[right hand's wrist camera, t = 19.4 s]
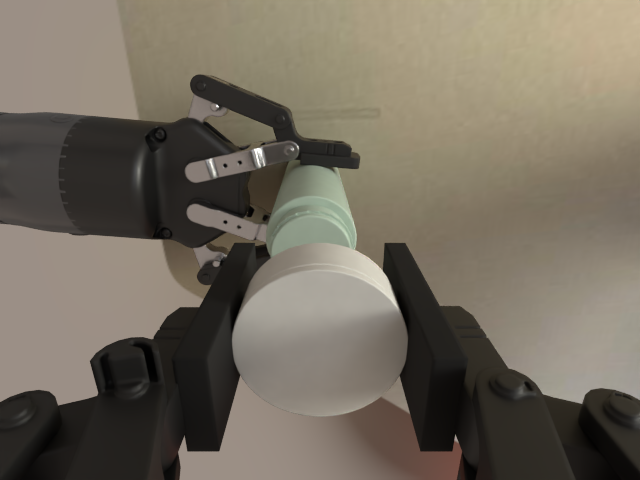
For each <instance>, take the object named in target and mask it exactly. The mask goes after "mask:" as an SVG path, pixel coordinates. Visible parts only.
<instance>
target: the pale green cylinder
mask: <svg viewBox="0 0 640 480" xmlns="http://www.w3.org/2000/svg"><path fill="white" fill-rule="evenodd" d="M356 240H357V235H356V229H355V225H354V221H353V218H352V215H351V211H350V208H349V204H348V201H347V198H346V194H345V191H344V188H343V184H342V181H341V177H340V174H339V171H338V168H336V167H324V166H315V165H301V164H300V160H292V161H289V163H288V165H287V168H286V171H285V174H284V177H283V180H282V183H281V186H280V189H279V192H278V195H277V198H276V201H275V204H274V207H273V211H272V214H271V217H270V220H269V223H268V226H267V230H266V245H267V249H268V252H269V254H270V257H271V258H272V257H274V256H275V255H276V254H278V253H280V252H282V251H284V250H286V249H289V248H292V247H295V246H299V245H303V244H310V243H330V244H337V245H341V246H345V247H348V248H351V249H353V250H355V247H356Z"/></svg>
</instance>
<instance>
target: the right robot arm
mask: <svg viewBox="0 0 640 480" xmlns="http://www.w3.org/2000/svg"><path fill="white" fill-rule="evenodd" d="M256 272H257V266H256V251H255V243H234V245H233V247H232V249H231V251H230V252H229V254H228V256H227V258H226V260H225V261H224V263H223V265H222V267H221V269H220V271H219V272H218V274H217V276H216V278H215V280H214V282H213V283H212V285H211V287H210V289H209V291H208V293H207V294H206V296H205V298H204V300H203V302H202V304H201V305H200V307H180V308H179V309H177V310H176V311H175V312H173V313H172V314H170V315H169V316H168V317H167V318H166V319H165V321H164V322H163V324H162V325H161V327H160V330H158V331H157V333H156V334H155V336H154V339H148V338H144V337H135V338H128V339H123V340H119V341H117V342H114V343H112V344H110V345H107V346H106V347H104V348H103V349H101V350H100V351H99V352H97V353H96V354H95V355H94V357H93V358H92V359H91V360H90V363H91V367H92V371H93V375H94V378H95V382H96V386H97V389H98V395H97V396H95V397H92V398H89V399H85V400H81V401H76V402H72V403H67V404H63V405H59V406H58V404H57V401H56V398H55V396H54V395H53V394H51V393H50V392H48V391H42V390H35V391H27V392H23V393H20V394H17V395H14V396H12V397H9V398H7V399H5V400H4V401H2V402H0V480H179V478H180V461H179V455H178V451H179V448H180V445H181V443H182V440H183V438H184V435H185V440H186V445H187V451H219V450H220V446H221V443H222V439H223V435H224V432H225V428H226V425H227V421H228V418H229V414H230V410H231V407H232V403H233V399H234V396H235V392H236V388H237V385H238V381H239V378H240V373H239V372H238V370H237V367H236V365H235V362H234V357H233V347H232V331H233V327H234V323H235V320H236V318H237V315H238V312H239V309H240V307H241V304H242V301H243V298H244V296H245V293H246V290H247V288H248V285H249V283H250V281H251V280H252V278H253V276H254V275H255V273H256ZM383 272H384V274H385V275H386V276H387V278H388V280H389V281H390V283H391V285H392V288H393V291H394V293H395V296H396V299H397V302H398V305H399V307H400V310H401V313H402V316H403V318H404V321H405V324H406V327H407V332H408V345H407V355H406V361H405V365H404V367H403V369H402V371H401V374H400V379H401V382H402V386H403V389H404V393H405V397H406V400H407V404H408V407H409V411H410V415H411V418H412V422H413V426H414V429H415V433H416V436H417V440H418V443H419V447H420V451H452V450H453V444H454V438H455V434H456V437H457V439H458V442H459V444H460V447H461V449H462V455H461V460H460V466H459V471H458V477H457V480H640V400H638V399H636V398H634V397H632V396H631V395H628V394H625V393H622V392H619V391H616V390H610V389H603V388H600V389H594V390H590V391H589V392H588V393H587V394H586V395H585V397H584V400H583V403H582V404H580V403H575V402H571V401H566V400H562V399H558V398H553V397H550V396H546V395H543V394H542V392H541V391H540V389H539V388H538V386H537V385H536V383H534V382H533V381H532V380H531V379H529V378H528V377H527V376H525V375H523V374H521V373H519V372H517V371H515V370H512V369H508V367H507V366H506V364H505V363H504V361H503V360H502V358H501V357H500V355H499V354H498V352H497V351H496V349H495V348H494V346H493V345H492V343H491V342H490V340H489V339H488V338H486V334H485V333H484V331H483V330H482V329H480V325H479V324H478V323H477V321H476V320H475V318H474V317H473V315H471V314H470V313H469V312H467V311H466V310H464V309H463V308H462V307H460V306H439V304H438V302H437V300H436V298H435V297H434V295H433V293H432V291H431V289H430V287H429V286H428V284H427V282H426V280H425V278H424V277H423V275H422V273H421V271H420V269H419V267H418V266H417V264H416V262H415V260H414V258H413V256H412V255H411V253H410V251H409V249H408V247H407V246H406V244H405V243H385V247H384V262H383Z"/></svg>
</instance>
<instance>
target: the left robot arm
mask: <svg viewBox="0 0 640 480" xmlns="http://www.w3.org/2000/svg"><path fill="white" fill-rule="evenodd" d="M190 87H191V90H192V92H193V93H194V96H193V100H192V103H191V107H190V111H189V115H188V117H187V118H182V119H180V120H178V121H176V122H174V123H163V122H152V121H141V120H130V119H118V118H108V117H96V116H84V115H73V114H63V113H47V112H44V113H21V114H20V113H3V112H0V224H11V225H19V226H24V227H29V228H34V229H38V230H44V231H51V232H63V233H69V234H72V235H102V236H115V237H129V238H141V239H171V240H175V241H177V242H180V243H181V244H183V245H185V246H187V247H190V248H193V250H194V253H195V255H196V258H197V261H198V263H199V266H200V271H199V272H198V274H197V278H198V281H199V282H200V283H202V284H204V285H211V284H212V283H213V282H214V280H215V278H216V276H217V274H218V272H219V271H220V269H221V267H222V265H223V263H224V261H225V260H226V258H227V256H228V254H229V251H228V249H227V248H225V247H216V246H213V245H212V244H211V243H210V242H211V241H213V240H214V239H216V238H218V237H219V236H221V235H223V234H224V233H226V232H228V233H231V234H234V235H237V236H240V237H242V238H245V239H248V240H260V241H263V242H266V230H267V226H268V223H269V220H270V217H271V213H268V212H267V211H266V210H265V209H263V208H261V207H258V206H256V205H253V204H250V195H249V191H248V187H247V184H248V181H249V178H250V174H251V170H256V169H260V168H262V167H265V166H268V165H273V164H278V163H283V162H287V161H292V160H300V164H301V165H315V166H324V167H336V168H348V169H358V168H359V163H360V156H359V155H358V154H357V153H353V152H351V150H352V148H351V146H350V145H349V144H347V143H345V142H343V141H333V140H322V139H310V138H304V137H302V136H300V135H299V134H298V133H297V131H296V128H295V125H294V121H293V118H292V112H291V111H290V109H289V108H287V107H285V106H283V105H280V104H278V103H276V102H273V101H271V100H268V99H266V98H264V97H261V96H259V95H257V94H254V93H252V92H250V91H247V90H245V89H243V88H240V87H238V86H235V85H233V84H231V83H228V82H226V81H224V80H221V79H219V78H217V77H214V76H209V75H196V76H194V77H193V78H192V80H191V83H190ZM229 110H232V111H234V112H237V113H239V114H242V115H244V116H246V117H249V118H251V119H254V120H256V121H259V122H261V123H263V124H266V125H268V126H271V127H273V129H274V133H275V136H276V139H273V140H269V141H261V142H256V143H251V144H246V145H242V146H235V145H234V144H233V143H232V142H231V141H229V140H228V139H227V138H226V137H224V136H223V135H222V134H221V133H220V132H218V131H217V130H216V129H215V128H214V127H212V126H211V125H210V124H209V123H207V122H206V121H207V119H208V118H209V117H210V116H215V117H221V116H224V115H226V114H227V113H228V112H229ZM247 212H248V213H247ZM239 225H240V226H239ZM255 251H256V266H257V271H258V270H259V268H260V267H261V266H262V265H263V264H265V263H266V262H267V261H268V260H269V259H271V257H270V254H269V252H268V249H267V245H266V244H264V245H259V246H255Z"/></svg>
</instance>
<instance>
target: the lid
mask: <svg viewBox="0 0 640 480" xmlns="http://www.w3.org/2000/svg"><path fill="white" fill-rule="evenodd" d="M407 345H408V332H407V327H406V324H405V321H404V318H403V316H402V313H401V310H400V307H399V305H398V302H397V299H396V296H395V293H394V291H393V288H392V285H391V283H390V281H389V280H388V278H387V276H386V275H385V274H384V272H383V271H382V270H381V268H380V267H379V266H378V265H377V264H376V263H375V262H373V261H372V260H371V259H369V258H368V257H367V256H365V255H363V254H361V253H360V252H358V251H356V250H353V249H351V248H348V247H345V246H341V245H337V244H330V243H310V244H303V245H299V246H295V247H292V248H289V249H286V250H284V251H282V252H280V253H278V254H276V255H275V256H274V257H272V258H271V259H269V260H268V261H267V262H266V263H265V264H263V265H262V266H261V267H260V268H259V270H258V271H257V272H256V273H255V275H254V276H253V278H252V280H251V281H250V283H249V285H248V288H247V290H246V293H245V296H244V298H243V301H242V304H241V307H240V309H239V312H238V315H237V318H236V320H235V323H234V327H233V331H232V347H233V357H234V362H235V365H236V367H237V370H238V372H239V373H240V375H241V377H242V379H243V380H244V381H245V383H246V384H247V385H248V386H249V388H251V390H253V391H254V393H256V394H257V395H258V396H259V397H261V398H262V399H263V400H265V401H266V402H268V403H270V404H271V405H273V406H275V407H278V408H280V409H282V410H285V411H288V412H291V413H295V414H299V415H305V416H321V417H324V416H335V415H340V414H345V413H349V412H352V411H355V410H358V409H360V408H362V407H365V406H367V405H368V404H370V403H372V402H374V401H375V400H377V399H378V398H379V397H381V396H382V395H383V394H384V393H385V392H386V391H388V390H389V389H390V387H391V386H392V385H393V384H394V383H395V381H396V380H397V378H398V377H399V375H400V374H401V371H402V369H403V367H404V365H405V361H406V355H407Z"/></svg>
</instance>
